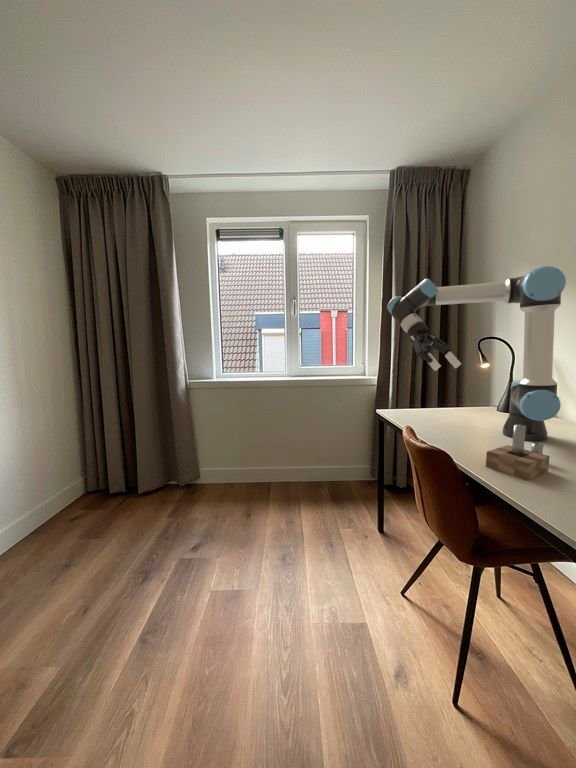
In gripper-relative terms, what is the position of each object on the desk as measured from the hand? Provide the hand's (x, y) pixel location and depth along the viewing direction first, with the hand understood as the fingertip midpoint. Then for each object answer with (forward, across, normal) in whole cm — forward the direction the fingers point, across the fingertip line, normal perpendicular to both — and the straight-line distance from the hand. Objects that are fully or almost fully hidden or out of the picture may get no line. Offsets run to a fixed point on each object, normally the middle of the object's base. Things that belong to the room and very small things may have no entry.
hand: (448, 367), depth 124 cm
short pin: (+40, -7, -2) cm, 41 cm away
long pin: (+40, +4, -2) cm, 40 cm away
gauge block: (+40, +4, -2) cm, 40 cm away
